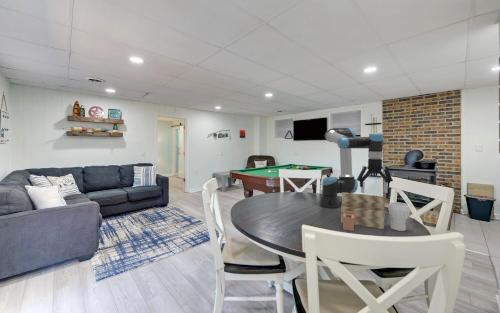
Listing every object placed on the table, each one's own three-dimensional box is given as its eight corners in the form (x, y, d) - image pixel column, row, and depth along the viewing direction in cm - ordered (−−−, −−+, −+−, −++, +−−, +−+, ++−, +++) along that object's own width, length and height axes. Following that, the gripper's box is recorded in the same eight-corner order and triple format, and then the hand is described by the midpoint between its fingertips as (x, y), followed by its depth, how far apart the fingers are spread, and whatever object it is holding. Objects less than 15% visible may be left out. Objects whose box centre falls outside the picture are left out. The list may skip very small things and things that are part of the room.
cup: (400, 224, 135) (401, 201, 134) (413, 232, 124) (414, 206, 123) (383, 225, 135) (384, 201, 134) (395, 232, 124) (396, 207, 123)
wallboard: (340, 222, 140) (341, 193, 138) (341, 220, 144) (342, 192, 143) (383, 229, 128) (385, 198, 127) (383, 226, 133) (384, 196, 131)
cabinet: (342, 229, 128) (343, 214, 128) (344, 223, 137) (344, 209, 137) (353, 231, 126) (354, 216, 125) (354, 225, 135) (354, 211, 134)
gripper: (356, 158, 128) (355, 193, 130) (400, 158, 126) (398, 194, 128) (351, 158, 136) (350, 190, 137) (392, 158, 134) (391, 191, 135)
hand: (374, 192), depth 132 cm, fingers open, 13 cm apart
